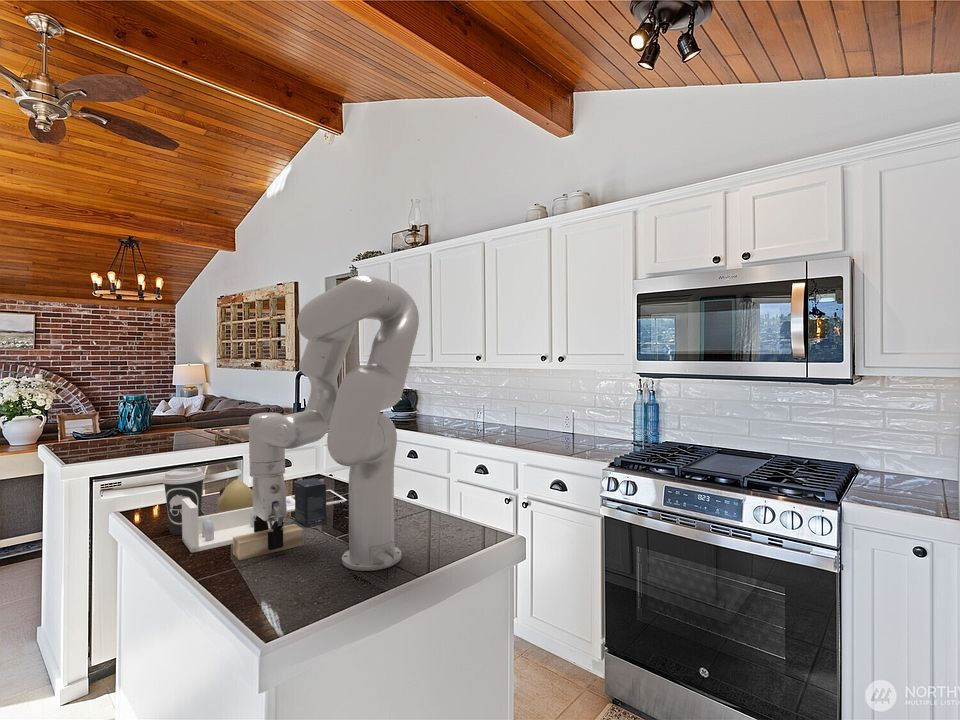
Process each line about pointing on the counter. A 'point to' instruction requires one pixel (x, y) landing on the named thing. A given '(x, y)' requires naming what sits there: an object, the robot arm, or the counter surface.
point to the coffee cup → (182, 493)
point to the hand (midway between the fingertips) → (268, 542)
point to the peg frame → (214, 526)
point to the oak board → (265, 542)
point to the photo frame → (291, 502)
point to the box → (310, 502)
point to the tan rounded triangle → (235, 497)
